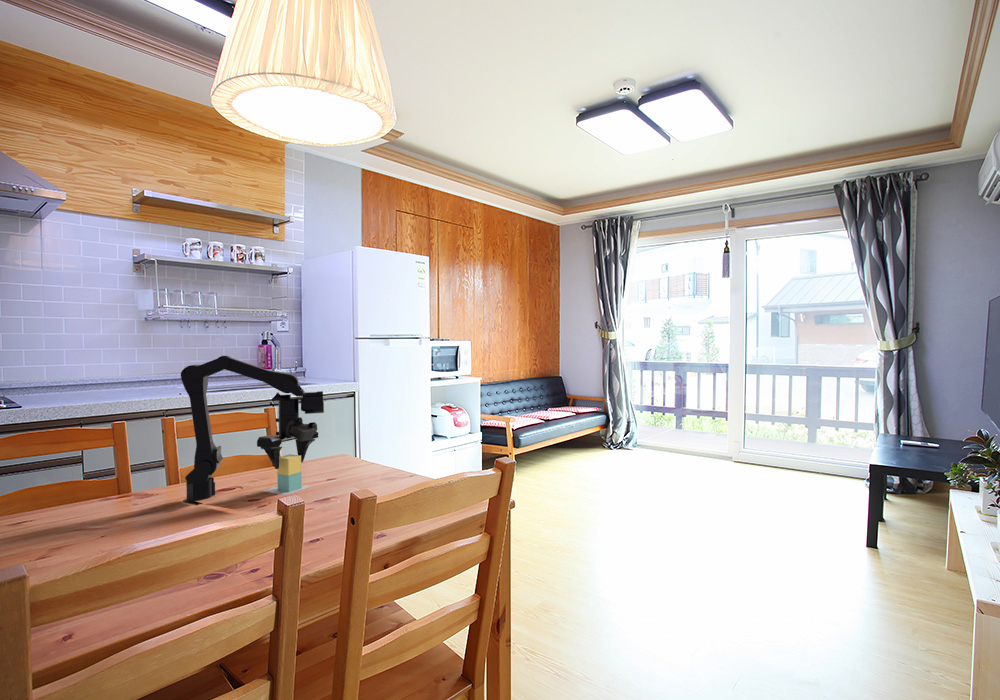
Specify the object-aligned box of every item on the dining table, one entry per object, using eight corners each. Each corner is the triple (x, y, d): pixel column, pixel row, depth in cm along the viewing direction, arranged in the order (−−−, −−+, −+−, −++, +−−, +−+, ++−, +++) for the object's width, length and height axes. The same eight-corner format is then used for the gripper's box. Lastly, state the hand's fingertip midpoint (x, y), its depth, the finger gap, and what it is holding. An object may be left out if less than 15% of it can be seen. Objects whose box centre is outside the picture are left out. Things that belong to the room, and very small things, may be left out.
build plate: (285, 497, 149) (285, 494, 149) (262, 493, 154) (262, 491, 154) (311, 488, 158) (311, 486, 158) (288, 485, 163) (288, 482, 163)
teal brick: (289, 491, 152) (288, 475, 152) (277, 490, 154) (277, 473, 154) (301, 487, 157) (301, 471, 157) (290, 486, 159) (290, 470, 159)
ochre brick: (288, 475, 152) (288, 458, 152) (277, 473, 154) (277, 457, 154) (301, 471, 156) (301, 455, 156) (290, 470, 158) (289, 454, 158)
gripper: (282, 420, 143) (283, 475, 143) (331, 412, 160) (331, 461, 160) (255, 418, 148) (255, 471, 148) (305, 410, 165) (305, 458, 165)
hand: (289, 465), depth 155 cm, fingers open, 9 cm apart
